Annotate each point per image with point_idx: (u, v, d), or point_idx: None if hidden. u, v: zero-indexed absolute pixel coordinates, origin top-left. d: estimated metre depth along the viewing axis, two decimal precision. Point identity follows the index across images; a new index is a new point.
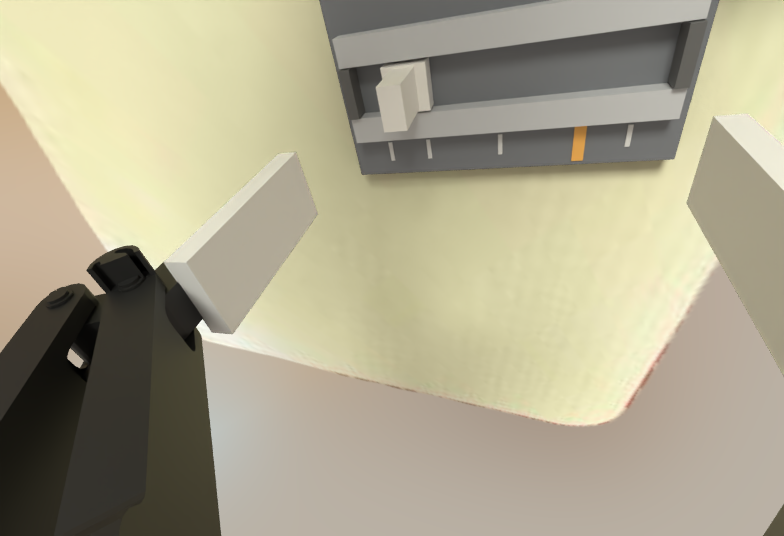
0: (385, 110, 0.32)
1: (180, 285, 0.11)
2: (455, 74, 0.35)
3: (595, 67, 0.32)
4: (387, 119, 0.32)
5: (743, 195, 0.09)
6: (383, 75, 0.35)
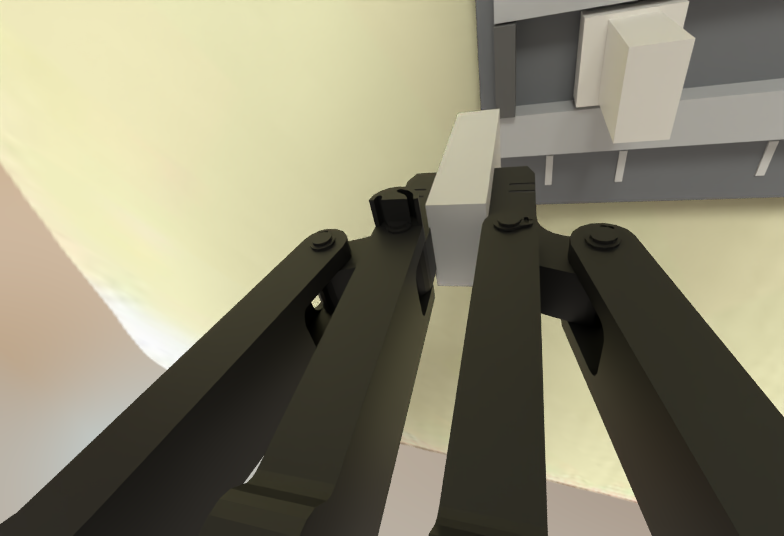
0: (633, 97, 0.15)
1: (431, 231, 0.10)
2: (721, 28, 0.19)
3: None
4: (631, 117, 0.16)
5: None
6: (587, 32, 0.18)
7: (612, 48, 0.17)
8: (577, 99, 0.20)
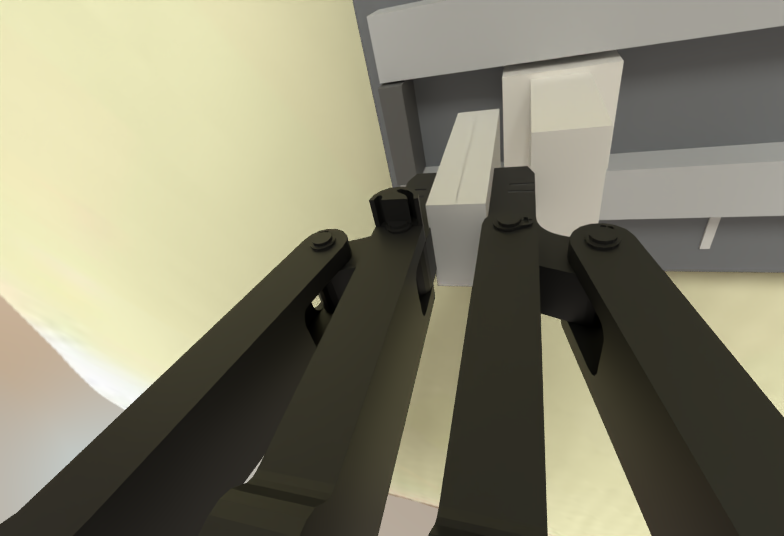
0: (544, 189, 0.12)
1: (431, 231, 0.10)
2: (643, 90, 0.16)
3: None
4: (546, 211, 0.12)
5: None
6: (507, 93, 0.15)
7: (530, 118, 0.14)
8: (505, 166, 0.17)
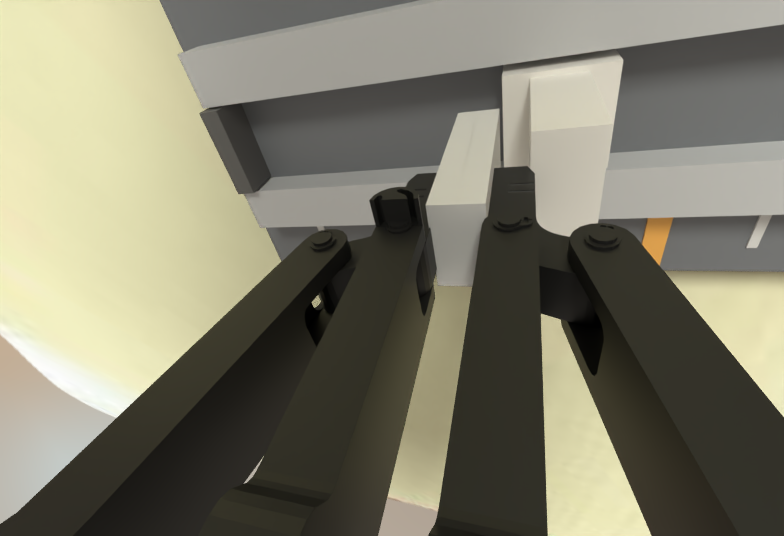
0: (544, 188, 0.12)
1: (432, 231, 0.10)
2: (418, 115, 0.18)
3: (706, 103, 0.15)
4: (545, 210, 0.12)
5: None
6: (507, 92, 0.15)
7: None
8: (504, 165, 0.17)
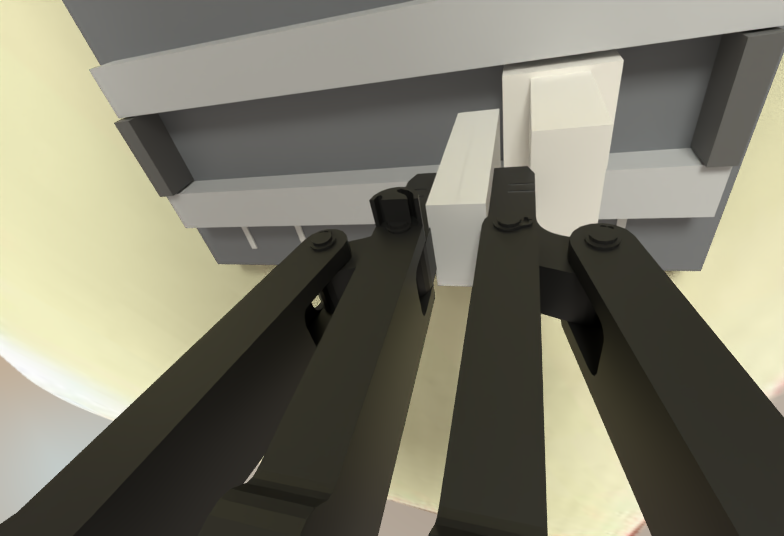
0: (544, 188, 0.12)
1: (431, 231, 0.10)
2: (312, 125, 0.20)
3: None
4: (545, 210, 0.12)
5: None
6: (507, 92, 0.15)
7: None
8: (504, 165, 0.17)
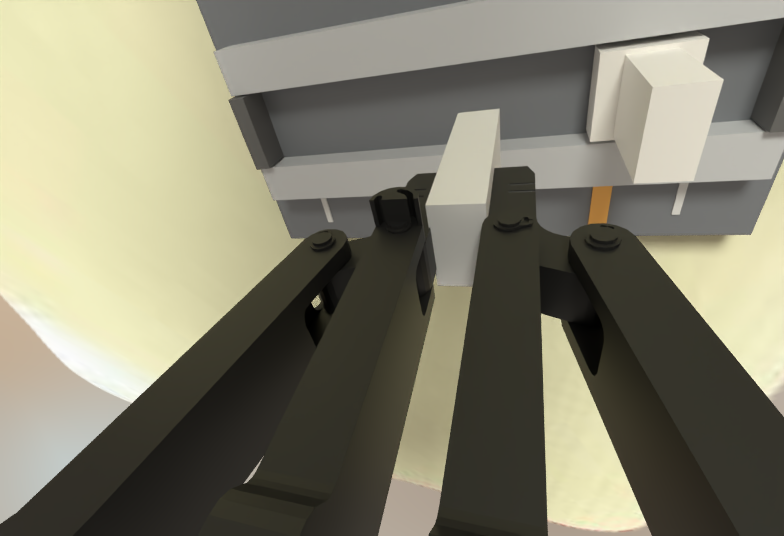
0: (655, 137, 0.14)
1: (431, 231, 0.10)
2: (406, 103, 0.23)
3: None
4: (653, 157, 0.15)
5: None
6: (603, 67, 0.18)
7: (630, 85, 0.16)
8: (591, 133, 0.20)
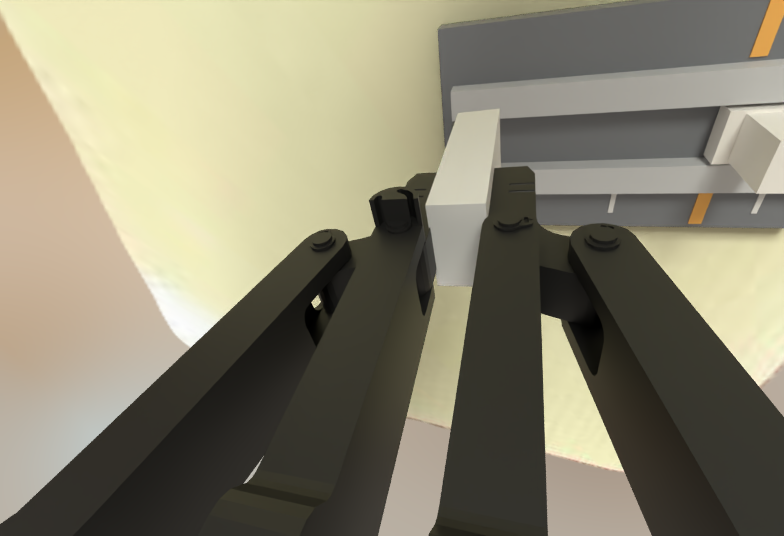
0: (776, 168, 0.25)
1: (431, 231, 0.10)
2: (576, 131, 0.33)
3: None
4: (772, 179, 0.26)
5: None
6: (730, 119, 0.28)
7: (753, 133, 0.27)
8: (713, 159, 0.30)
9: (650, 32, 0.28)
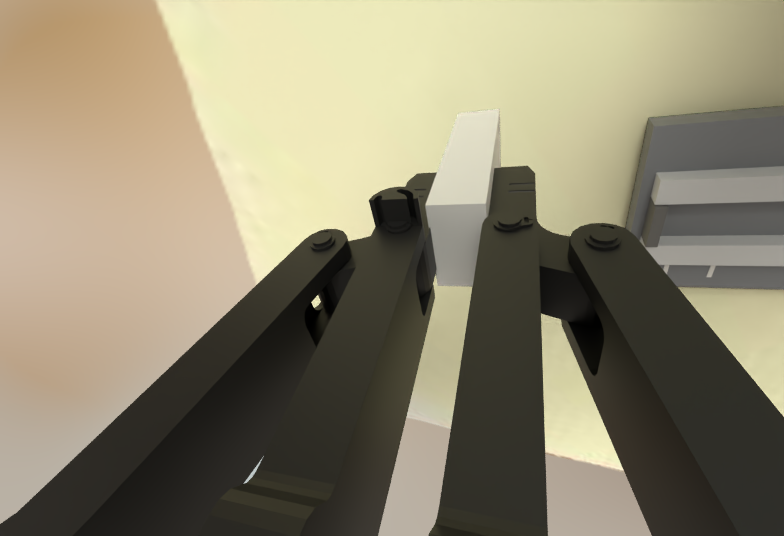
0: None
1: (431, 231, 0.10)
2: (777, 211, 0.35)
3: None
4: None
5: None
6: None
7: None
8: None
9: None
